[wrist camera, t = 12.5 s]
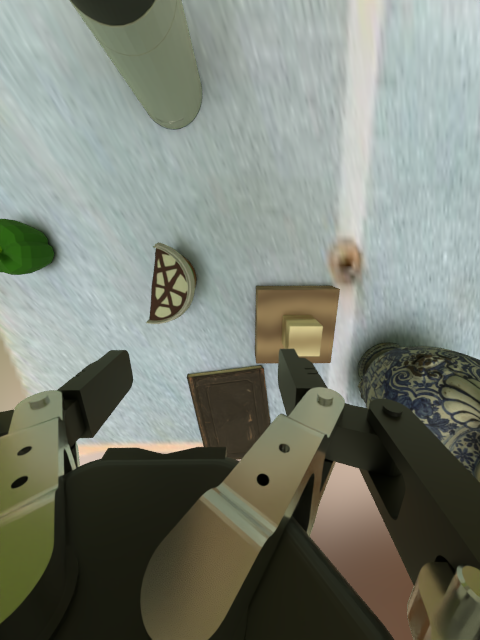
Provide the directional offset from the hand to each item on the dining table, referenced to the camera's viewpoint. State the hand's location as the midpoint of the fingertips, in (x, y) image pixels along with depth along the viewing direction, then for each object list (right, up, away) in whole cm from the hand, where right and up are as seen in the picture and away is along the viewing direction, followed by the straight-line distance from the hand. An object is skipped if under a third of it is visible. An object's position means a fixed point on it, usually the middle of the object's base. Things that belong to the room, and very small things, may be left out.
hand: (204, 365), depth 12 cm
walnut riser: (+12, +2, +33) cm, 35 cm away
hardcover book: (0, -19, +40) cm, 44 cm away
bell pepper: (-34, +15, +29) cm, 47 cm away
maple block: (+12, +1, +29) cm, 31 cm away
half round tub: (-8, +10, +31) cm, 33 cm away
